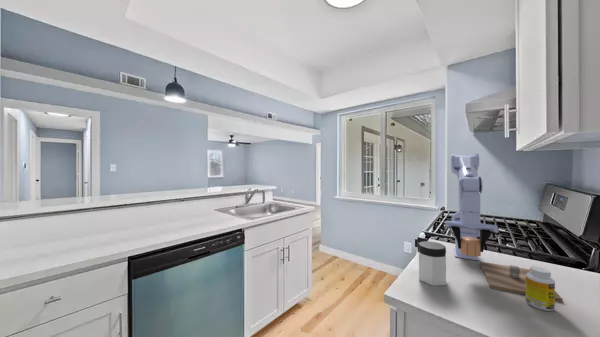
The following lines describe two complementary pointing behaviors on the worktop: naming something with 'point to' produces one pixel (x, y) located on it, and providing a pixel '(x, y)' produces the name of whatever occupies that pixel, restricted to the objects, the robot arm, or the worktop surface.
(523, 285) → the post board
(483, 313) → the worktop surface
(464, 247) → the brown rounded block
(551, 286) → the supplement bottle
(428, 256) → the jar
